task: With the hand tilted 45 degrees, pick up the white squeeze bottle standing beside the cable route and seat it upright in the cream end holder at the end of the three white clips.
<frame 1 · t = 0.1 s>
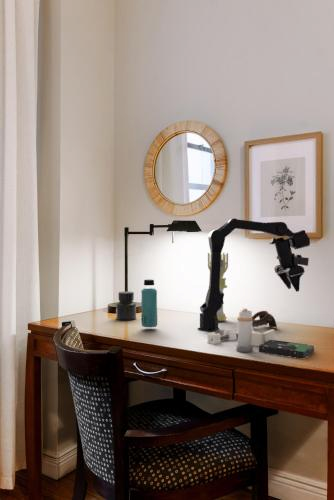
hand: (293, 290, 177), 15 cm above the table, tool pointing down, fingers open, 9 cm apart
ink bottle: (126, 319, 198), on the table
trophy: (217, 321, 193), on the table
cable: (237, 337, 157), resting on cable clips
cable clips: (231, 334, 158), on the table
end holder: (256, 342, 153), on the table
dark brown curved piece: (264, 329, 177), on the table
beverage bottle: (149, 330, 175), on the table
white squeeze bottle: (244, 350, 142), on the table
disk drive: (286, 354, 141), on the table
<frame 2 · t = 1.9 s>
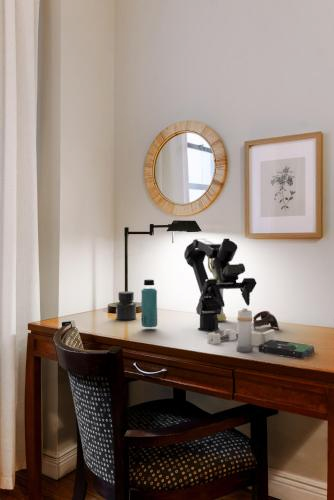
hand: (236, 305, 150), 13 cm above the table, tool tilted 45°, fingers open, 9 cm apart
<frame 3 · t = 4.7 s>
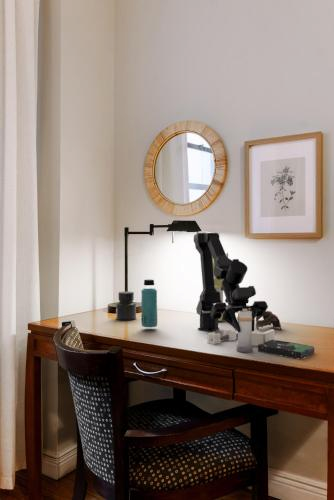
hand: (246, 331, 141), 7 cm above the table, tool tilted 45°, fingers closed on white squeeze bottle, 4 cm apart
white squeeze bottle: (244, 350, 142), on the table, touching gripper
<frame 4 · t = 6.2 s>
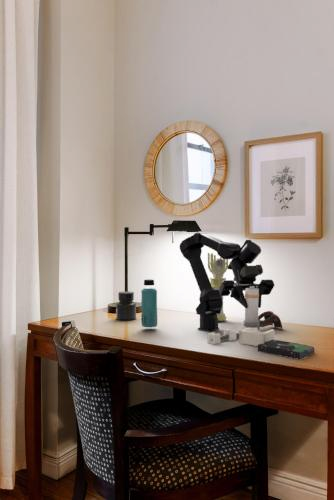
hand: (253, 307, 148), 13 cm above the table, tool tilted 45°, fingers closed on white squeeze bottle, 4 cm apart
white squeeze bottle: (251, 326, 149), point 7 cm above the table, touching gripper
when the fingers open (8 cm above the table, at t = 7.8 s): white squeeze bottle stays where it is, resting on end holder.
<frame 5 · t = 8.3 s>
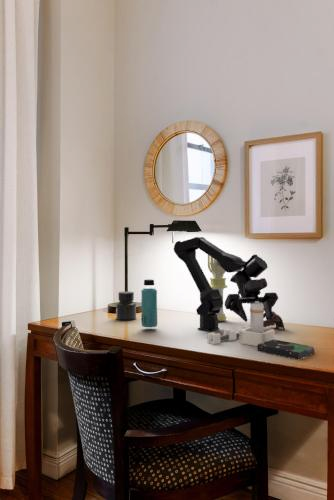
hand: (258, 320, 151), 8 cm above the table, tool tilted 45°, fingers open, 9 cm apart
white squeeze bottle: (256, 340, 153), point 1 cm above the table, touching end holder
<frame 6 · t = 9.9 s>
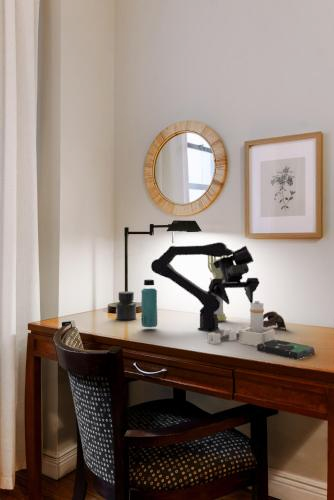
hand: (240, 303, 160), 13 cm above the table, tool tilted 45°, fingers open, 9 cm apart
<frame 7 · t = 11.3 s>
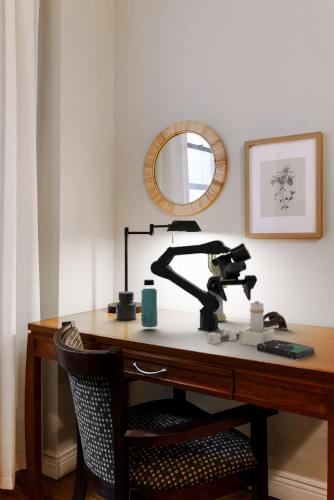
hand: (238, 300, 160), 14 cm above the table, tool tilted 45°, fingers open, 9 cm apart
at the end: white squeeze bottle 0.3 cm off-centre on the end holder, point 0.8 cm above the end holder's base; white squeeze bottle tilted 0°; the gripper is holding nothing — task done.
